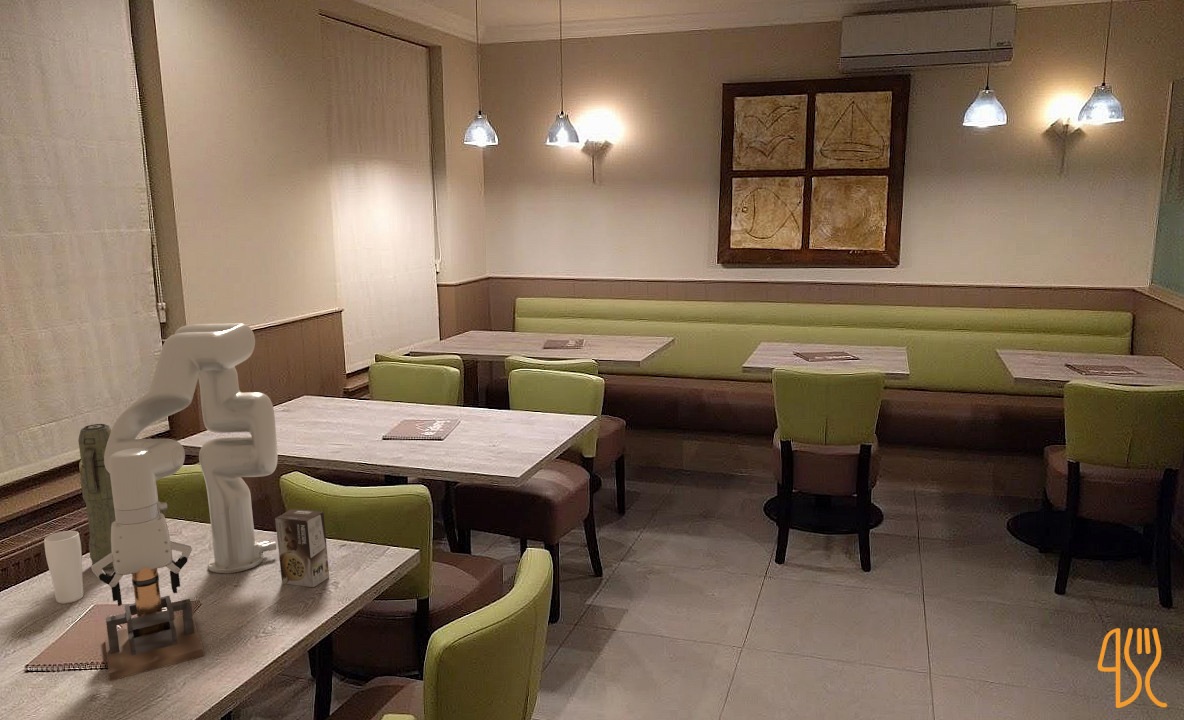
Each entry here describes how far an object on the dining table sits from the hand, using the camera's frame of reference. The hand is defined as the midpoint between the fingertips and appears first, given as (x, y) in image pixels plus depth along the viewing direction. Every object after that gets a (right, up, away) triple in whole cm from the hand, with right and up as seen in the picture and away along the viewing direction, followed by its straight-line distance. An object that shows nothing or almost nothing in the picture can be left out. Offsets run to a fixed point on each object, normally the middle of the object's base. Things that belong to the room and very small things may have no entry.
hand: (147, 596), depth 167 cm
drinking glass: (-30, -8, +25) cm, 40 cm away
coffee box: (+20, -5, +32) cm, 38 cm away
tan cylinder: (0, -9, +2) cm, 9 cm away
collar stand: (0, -11, +2) cm, 11 cm away
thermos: (-32, -4, +45) cm, 55 cm away
